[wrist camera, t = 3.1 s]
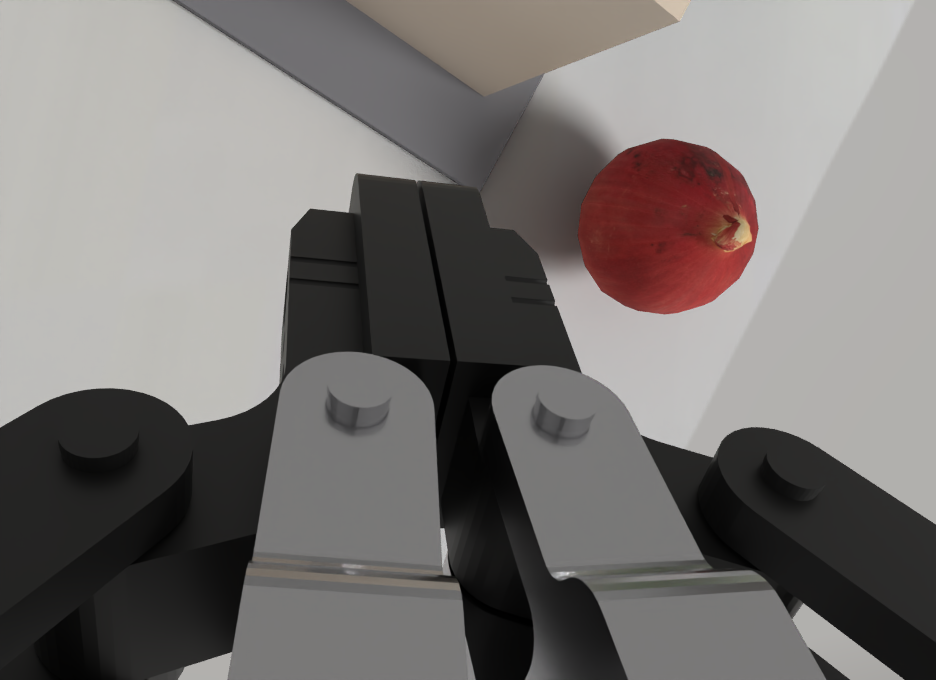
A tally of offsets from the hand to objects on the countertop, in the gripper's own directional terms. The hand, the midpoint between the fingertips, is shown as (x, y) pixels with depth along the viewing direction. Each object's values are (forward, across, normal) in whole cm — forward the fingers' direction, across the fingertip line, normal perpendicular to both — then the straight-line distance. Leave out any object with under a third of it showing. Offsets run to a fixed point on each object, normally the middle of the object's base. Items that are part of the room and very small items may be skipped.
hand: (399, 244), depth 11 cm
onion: (+18, -11, +9) cm, 23 cm away
